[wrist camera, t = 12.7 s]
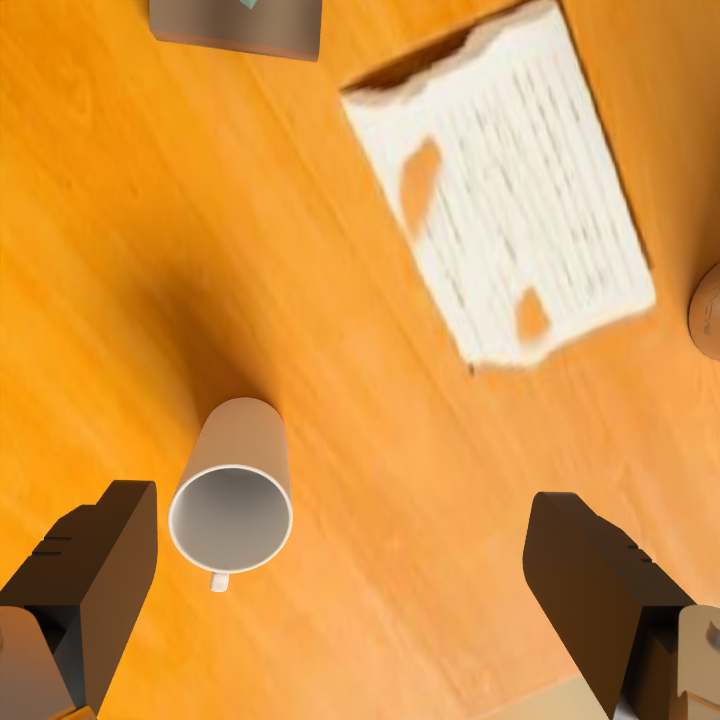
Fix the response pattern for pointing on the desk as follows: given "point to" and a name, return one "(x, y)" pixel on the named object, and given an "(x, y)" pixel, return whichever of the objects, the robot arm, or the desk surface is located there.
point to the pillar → (249, 3)
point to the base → (241, 25)
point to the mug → (234, 492)
